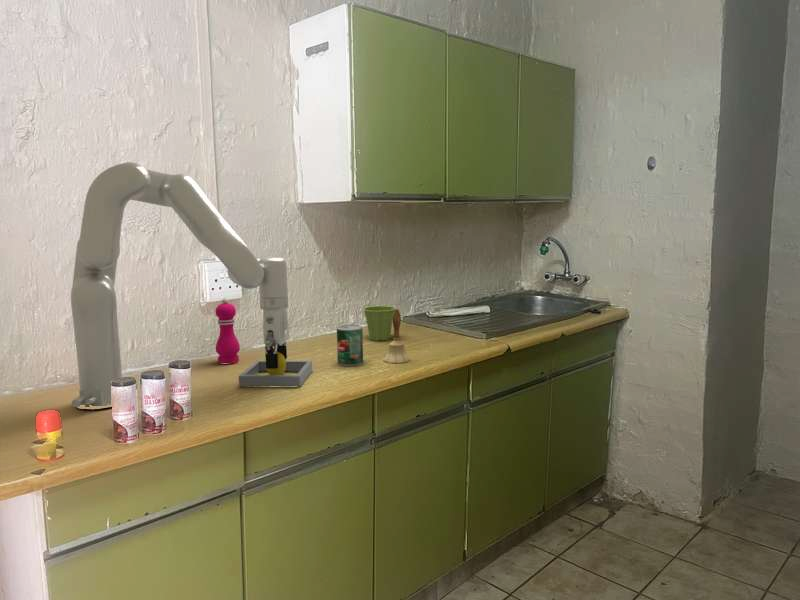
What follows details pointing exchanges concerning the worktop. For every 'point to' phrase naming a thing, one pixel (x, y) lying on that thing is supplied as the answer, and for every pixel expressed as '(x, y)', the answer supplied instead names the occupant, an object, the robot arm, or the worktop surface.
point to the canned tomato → (350, 345)
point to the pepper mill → (227, 333)
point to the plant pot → (379, 321)
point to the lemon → (281, 366)
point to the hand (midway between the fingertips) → (276, 363)
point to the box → (276, 380)
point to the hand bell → (396, 343)
